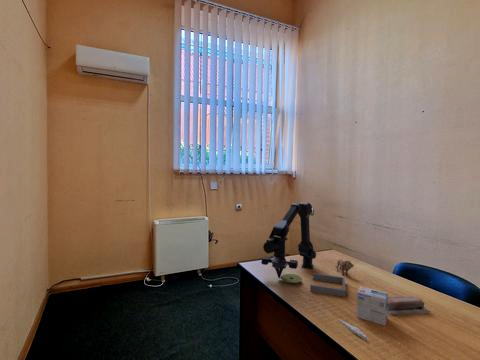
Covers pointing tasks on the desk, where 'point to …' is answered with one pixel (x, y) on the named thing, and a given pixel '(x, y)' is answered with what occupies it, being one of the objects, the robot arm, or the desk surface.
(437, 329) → the desk surface
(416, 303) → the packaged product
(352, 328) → the stylus pen
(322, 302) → the desk surface
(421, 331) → the desk surface
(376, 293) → the light bulb box
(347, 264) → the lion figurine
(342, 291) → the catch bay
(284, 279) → the green speckled disc
